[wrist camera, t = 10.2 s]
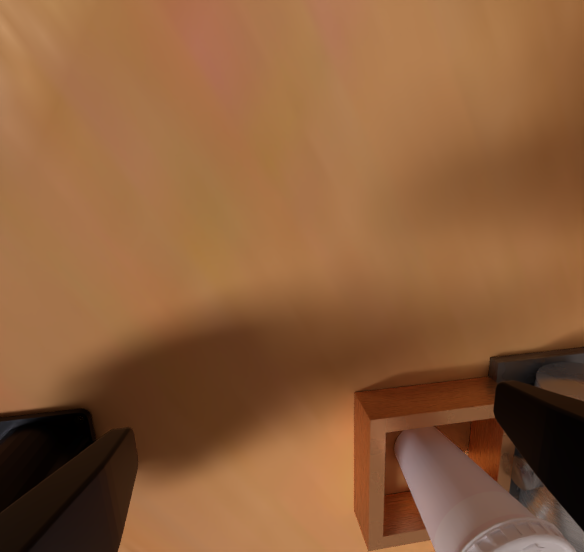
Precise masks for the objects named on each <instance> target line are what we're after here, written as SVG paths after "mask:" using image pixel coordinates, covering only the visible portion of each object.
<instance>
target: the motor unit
mask: <svg viewBox="0 0 584 552" xmlns="http://www.w3.org/2000/svg"><path fill="white" fill-rule="evenodd" d="M511 380H514V381H519V382H522V383H525V384H528V385H532V386H535V387H538V388H542V389H545V390H548V391H552V392H555V393H558V394H561V395H565V396H568V397H571V398H575V399H578V400H581V401H584V347H581V348H572V349H563V350H554V351H545V352H536V353H527V354H518V355H509V356H500V357H491V358H490V365H489V375H488V377H481V378H473V379H464V380H456V381H448V382H439V383H431V384H422V385H414V386H406V387H397V388H389V389H380V390H372V391H364V392H355V393H354V512H355V515H356V518H357V520H358V523H359V526H360V529H361V532H362V534H363V537H364V540H365V543H366V546H367V549H368V551H372V550H378V549H383V548H389V547H394V546H400V545H405V544H411V543H416V542H422V541H427V540H431V539H430V537H429V535H428V532H427V530H426V527H425V525H424V523H423V520H422V518H421V515H420V513H419V511H418V508H417V506H416V503H415V501H414V499H413V496H412V494H411V491H408V492H402V493H396V494H390V495H384V483H385V446H386V433H387V432H394V431H402V430H409V429H416V428H424V427H431V426H438V425H446V424H453V423H460V422H468V421H471V432H470V442H469V453H468V457H469V458H470V459H472V460H473V461H474V462H475V463H476V464H477V465H478V466H479V467H481V468H482V469H483V470H484V471H485V472H486V473H487V474H488V475H489V476H491V477H492V478H493V479H494V480H495V481H496V482H497V483H498V484H499V485H501V486H502V487H503V488H504V489H505V490H506V491H507V492H508V493H509V494H511V495H512V496H513V497H514V498H515V499H517V500H518V501H519V502H520V503H521V504H522V505H523V506H524V507H525V508H526V509H527V510H528V511H530V512H531V513H532V514H533V515H534V516H535V517H536V518H541V519H543V520H545V521H547V522H549V523H551V524H553V525H554V526H555V527H556V528H557V529H558V530H559V531H560V532H561V533H562V534H563V537H564V538H565V539H566V540H567V541H568V542H569V543H570V544H571V545H572V546H573V547H574V548H575V550H576V551H577V552H584V532H583V531H582V529H581V528H580V527H579V526H578V525H577V523H576V522H575V521H574V520H573V519H572V518H571V516H570V515H569V514H568V513H567V512H566V510H565V509H564V508H563V507H562V506H561V505H560V503H559V502H558V501H557V500H556V499H555V497H554V496H553V495H552V494H551V493H550V492H549V490H548V489H547V488H546V487H545V486H544V484H543V483H542V482H541V481H540V480H539V478H538V477H537V476H536V474H535V473H534V472H533V470H532V469H531V468H530V466H529V465H528V464H527V462H526V461H525V459H524V458H523V457H522V455H521V454H520V453H519V451H518V450H517V448H516V447H515V446H514V444H513V443H512V441H511V440H510V439H509V437H508V436H507V434H506V433H505V432H504V430H503V429H502V427H501V426H500V425H499V423H498V422H497V420H496V418H495V416H494V412H493V408H494V398H495V389H496V385H497V384H498V383H499V382H503V381H511Z"/></svg>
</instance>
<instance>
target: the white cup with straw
mask: <svg viewBox="0 0 584 552" xmlns="http://www.w3.org/2000/svg"><path fill="white" fill-rule="evenodd" d="M394 452H395V455H396V458H397V460H398V463H399V465H400V467H401V470H402V472H403V475H404V477H405V479H406V482H407V484H408V487H409V489H410V491H411V494H412V496H413V499H414V501H415V503H416V506H417V508H418V511H419V513H420V515H421V518H422V520H423V523H424V525H425V527H426V530H427V532H428V535H429V537H430V539H431V542H432V544H433V547H434V549H435V552H577V551H576V550H575V548H574V547H573V546H572V545H571V544H570V543H569V542H568V541H567V540H566V539H565V538H564V537H563V534H562V533H561V532H560V531H559V530H558V529H557V528H556V527H555V526H554V525H553V524H551V523H549V522H547V521H545V520H543V519H541V518H536V517H535V516H534V515H533V514H532V513H531V512H530V511H528V510H527V509H526V508H525V507H524V506H523V505H522V504H521V503H520V502H519V501H518V500H517V499H515V498H514V497H513V496H512V495H511V494H509V493H508V492H507V491H506V490H505V489H504V488H503V487H502V486H501V485H499V484H498V483H497V482H496V481H495V480H494V479H493V478H492V477H491V476H489V475H488V474H487V473H486V472H485V471H484V470H483V469H482V468H481V467H479V466H478V465H477V464H476V463H475V462H474V461H473V460H472V459H470V458H469V457H468V456H467V455H466V454H465V453H464V452H463V451H462V450H460V449H459V448H458V447H457V446H456V445H455V444H454V443H453V442H452V441H450V440H449V439H448V438H447V437H446V436H445V435H444V434H443V433H442V432H440V431H439V430H438V429H437V428H436V427H435V426H431V427H424V428H416V429H409V430H403V431H402V432H401V433H400V435H399V436H398V438H397V440H396V442H395V446H394Z"/></svg>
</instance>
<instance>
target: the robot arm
mask: <svg viewBox="0 0 584 552" xmlns="http://www.w3.org/2000/svg"><path fill="white" fill-rule="evenodd" d="M493 412H494V416H495V418H496V420H497V422H498V423H499V425H500V426H501V427H502V429H503V430H504V432H505V433H506V434H507V436H508V437H509V439H510V440H511V441H512V443H513V444H514V446H515V447H516V448H517V450H518V451H519V453H520V454H521V455H522V457H523V458H524V459H525V461H526V462H527V464H528V465H529V466H530V468H531V469H532V470H533V472H534V473H535V474H536V476H537V477H538V478H539V480H540V481H541V482H542V483H543V484H544V486H545V487H546V488H547V489H548V490H549V492H550V493H551V494H552V495H553V496H554V497H555V499H556V500H557V501H558V502H559V503H560V505H561V506H562V507H563V508H564V509H565V510H566V512H567V513H568V514H569V515H570V516H571V518H572V519H573V520H574V521H575V522H576V523H577V525H578V526H579V527H580V528H581V529H582V531H583V532H584V401H581V400H578V399H575V398H571V397H568V396H565V395H561V394H558V393H555V392H552V391H548V390H545V389H542V388H538V387H535V386H532V385H528V384H525V383H522V382H519V381H514V380H511V381H503V382H499V383H498V384H497V385H496V389H495V398H494V408H493ZM78 416H80V417H82V418H83V420H81V419H79V418H78ZM137 469H138V455H137V449H136V443H135V438H134V432H133V430H132V429H131V428H130V427H126V428H118V429H112V430H110V431H109V432H107V433H106V434H105V435H103V436H102V437H101V438H99V439H98V440H96V438H95V433H94V428H93V423H92V418H91V414H90V412H89V411H88V410H86V409H74V410H65V411H56V412H47V413H38V414H30V415H21V416H12V417H3V418H0V552H118V549H119V545H120V542H121V538H122V534H123V530H124V526H125V521H126V517H127V513H128V508H129V504H130V500H131V495H132V491H133V487H134V482H135V478H136V474H137Z"/></svg>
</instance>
